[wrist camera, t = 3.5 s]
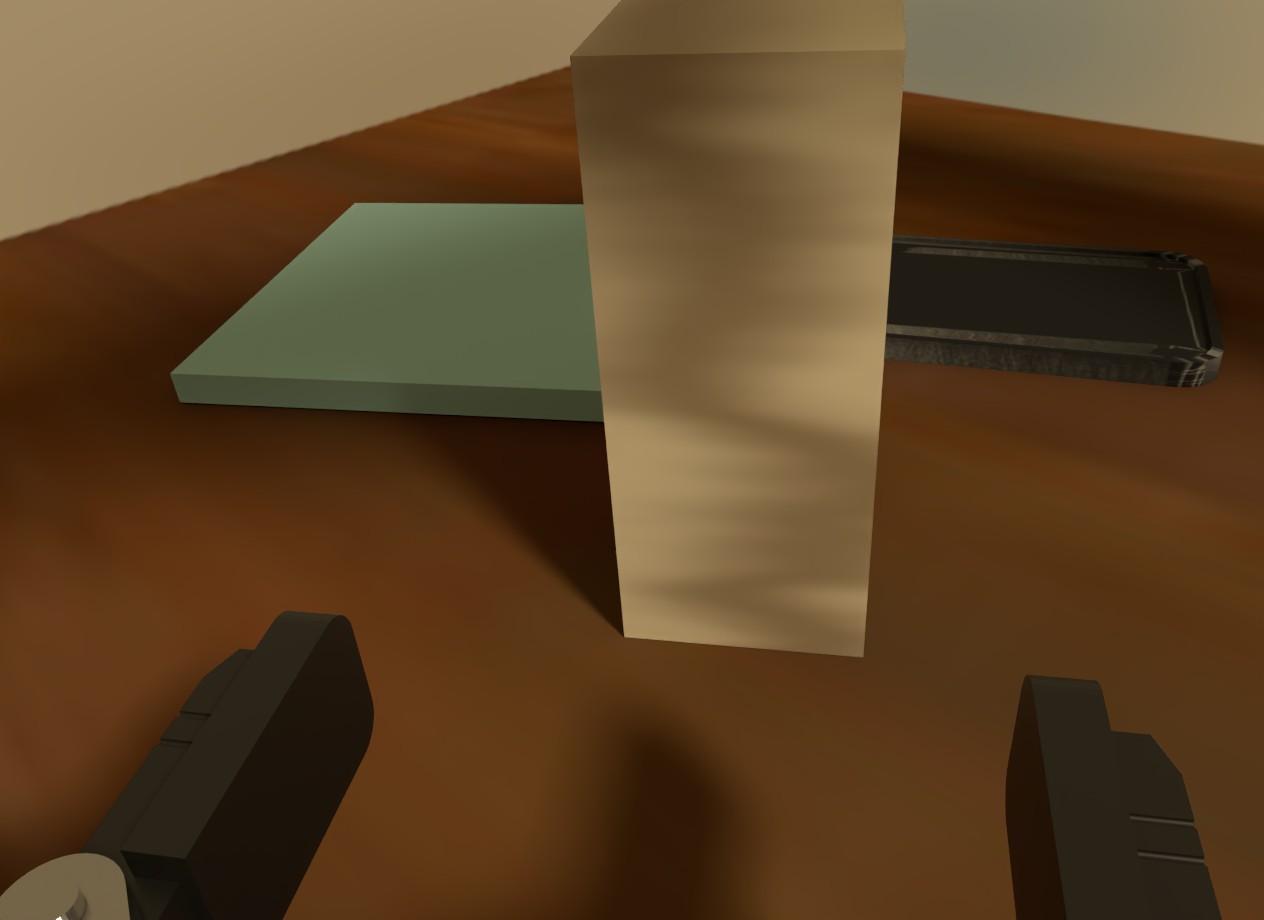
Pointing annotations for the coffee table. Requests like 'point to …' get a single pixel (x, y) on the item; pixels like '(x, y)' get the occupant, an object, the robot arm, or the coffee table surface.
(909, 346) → the phone
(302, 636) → the robot arm
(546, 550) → the coffee table surface
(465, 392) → the green square tile
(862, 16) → the birch block
